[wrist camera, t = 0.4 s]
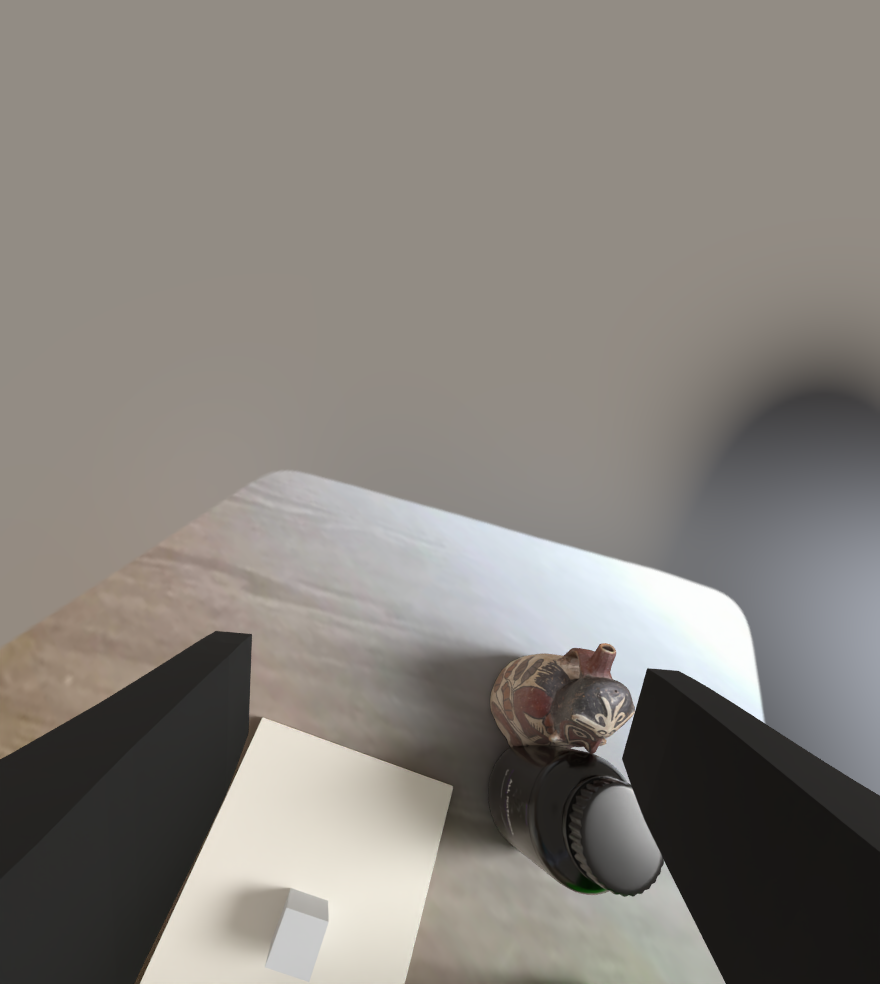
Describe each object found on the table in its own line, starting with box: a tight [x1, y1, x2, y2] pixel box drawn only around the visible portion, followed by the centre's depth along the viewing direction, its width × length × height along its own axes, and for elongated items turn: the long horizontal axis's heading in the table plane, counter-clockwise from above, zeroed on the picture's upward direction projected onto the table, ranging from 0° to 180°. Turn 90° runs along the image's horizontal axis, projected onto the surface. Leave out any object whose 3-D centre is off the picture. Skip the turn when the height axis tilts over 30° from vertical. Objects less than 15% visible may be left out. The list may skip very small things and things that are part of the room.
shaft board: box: [140, 718, 453, 984], centre depth 26 cm, size 18×14×4 cm
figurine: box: [490, 643, 635, 754], centre depth 31 cm, size 7×7×12 cm
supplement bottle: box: [488, 745, 664, 897], centre depth 28 cm, size 7×7×12 cm
